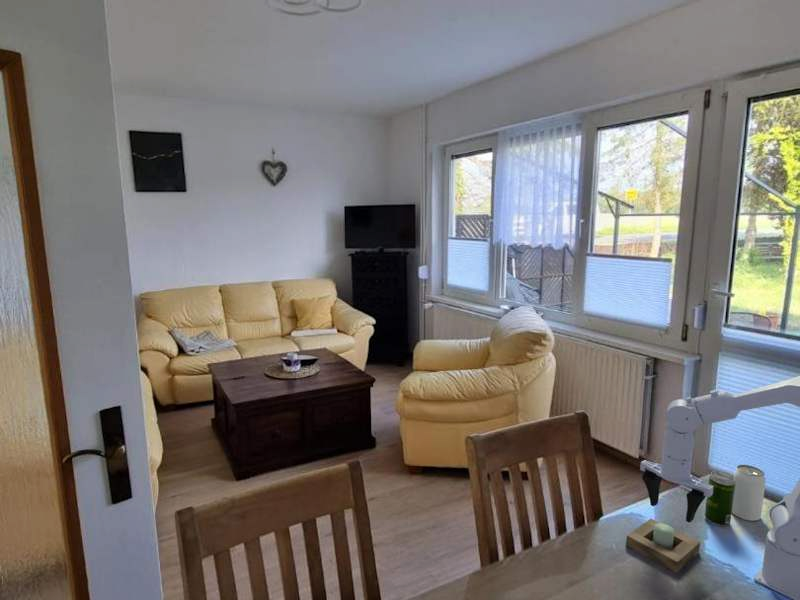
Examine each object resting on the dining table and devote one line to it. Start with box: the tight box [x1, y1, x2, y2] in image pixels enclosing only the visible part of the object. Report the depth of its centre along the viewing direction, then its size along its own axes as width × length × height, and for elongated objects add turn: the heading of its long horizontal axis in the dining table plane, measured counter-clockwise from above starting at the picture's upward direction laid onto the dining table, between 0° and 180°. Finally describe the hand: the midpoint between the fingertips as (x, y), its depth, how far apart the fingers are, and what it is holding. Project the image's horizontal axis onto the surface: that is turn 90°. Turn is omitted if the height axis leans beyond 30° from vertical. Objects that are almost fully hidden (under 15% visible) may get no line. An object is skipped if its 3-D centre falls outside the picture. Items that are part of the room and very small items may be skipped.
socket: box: [625, 518, 701, 573], centre depth 111 cm, size 11×11×2 cm
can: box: [732, 464, 766, 522], centre depth 125 cm, size 6×6×12 cm
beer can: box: [704, 470, 735, 528], centre depth 122 cm, size 5×5×12 cm
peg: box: [652, 522, 675, 551], centre depth 111 cm, size 4×4×5 cm
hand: (671, 512), depth 111 cm, fingers open, 7 cm apart
